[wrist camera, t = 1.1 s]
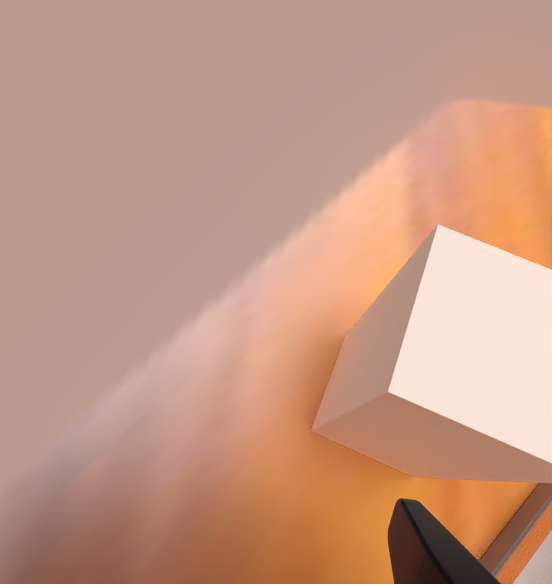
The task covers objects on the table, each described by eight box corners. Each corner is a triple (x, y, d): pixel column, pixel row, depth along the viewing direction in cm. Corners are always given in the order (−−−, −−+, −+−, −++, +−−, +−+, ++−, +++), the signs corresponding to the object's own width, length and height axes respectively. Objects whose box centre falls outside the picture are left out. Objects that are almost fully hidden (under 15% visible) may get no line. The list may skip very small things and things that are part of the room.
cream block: (412, 477, 22) (602, 485, 11) (310, 431, 23) (387, 391, 11) (437, 376, 25) (614, 294, 13) (345, 336, 25) (438, 224, 14)
